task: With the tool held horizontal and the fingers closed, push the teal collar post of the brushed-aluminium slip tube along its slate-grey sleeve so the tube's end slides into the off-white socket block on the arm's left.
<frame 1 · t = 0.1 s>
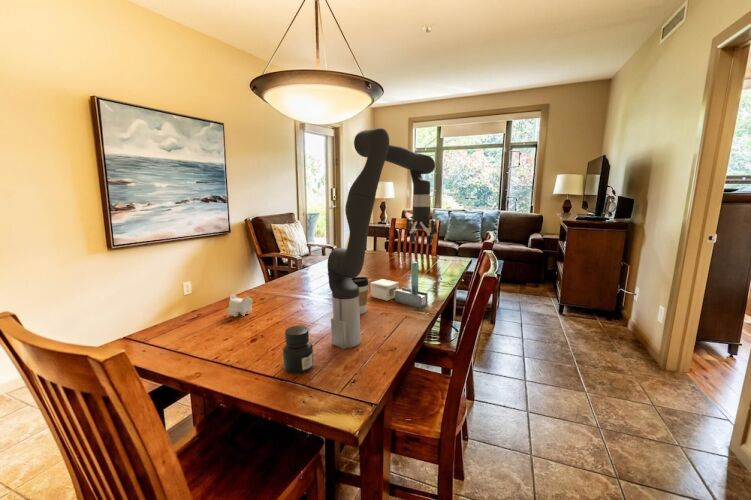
hand: (421, 243, 146), 29 cm above the table, tool pointing down, fingers open, 8 cm apart
elephant figurine: (240, 315, 147), on the table
coffee cup: (359, 311, 148), on the table
socket: (385, 296, 168), on the table
sleeve: (411, 303, 158), on the table
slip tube: (409, 281, 156), point 10 cm above the table, slide at 0.0 cm
ink bottle: (299, 367, 103), on the table
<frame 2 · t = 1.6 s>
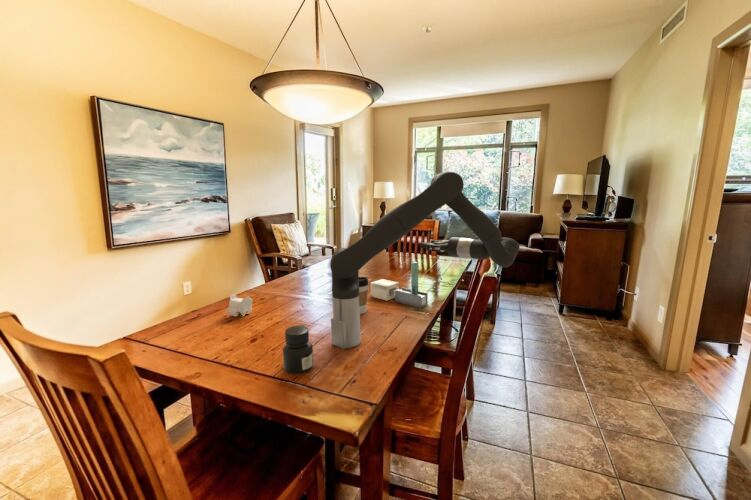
hand: (425, 243, 139), 30 cm above the table, tool horizontal, fingers open, 7 cm apart
nothing on the table moved.
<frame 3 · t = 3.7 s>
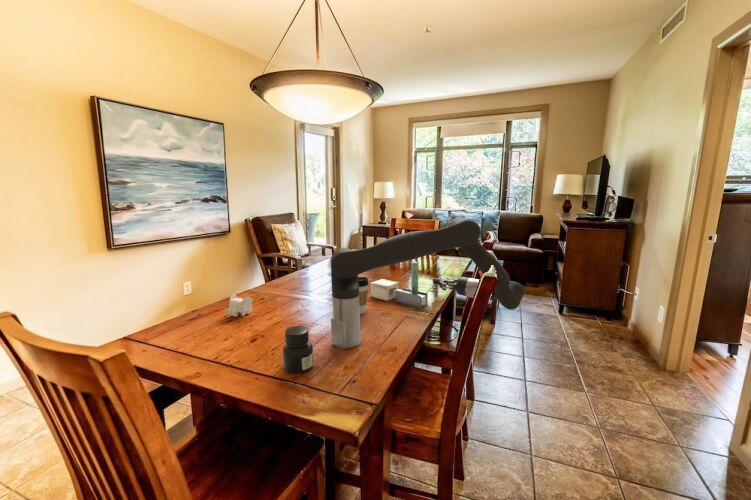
hand: (433, 280, 147), 13 cm above the table, tool horizontal, fingers closed
nothing on the table moved.
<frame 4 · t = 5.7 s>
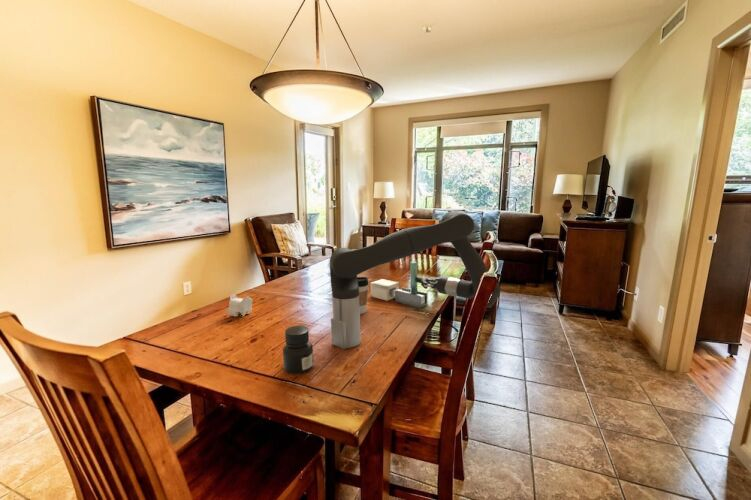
hand: (416, 279, 153), 12 cm above the table, tool horizontal, fingers closed
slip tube: (408, 281, 157), point 10 cm above the table, slide at 0.5 cm, touching gripper
everything else where it was.
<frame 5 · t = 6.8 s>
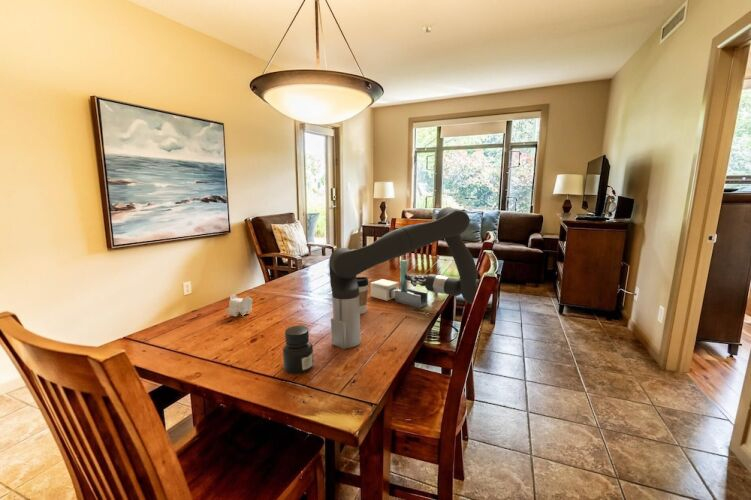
hand: (406, 277, 157), 12 cm above the table, tool horizontal, fingers closed
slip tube: (398, 278, 161), point 10 cm above the table, slide at 6.2 cm, touching gripper
everything else where it was.
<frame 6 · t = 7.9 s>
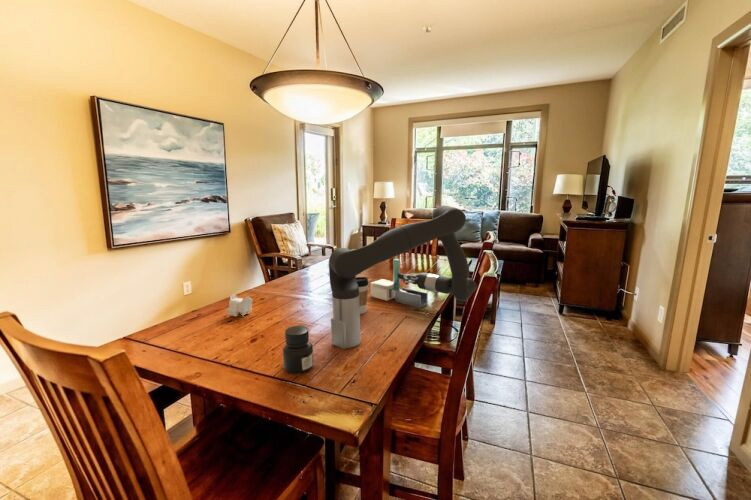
hand: (399, 275, 160), 12 cm above the table, tool horizontal, fingers closed
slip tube: (391, 277, 163), point 10 cm above the table, slide at 10.5 cm, touching gripper
everything else where it was.
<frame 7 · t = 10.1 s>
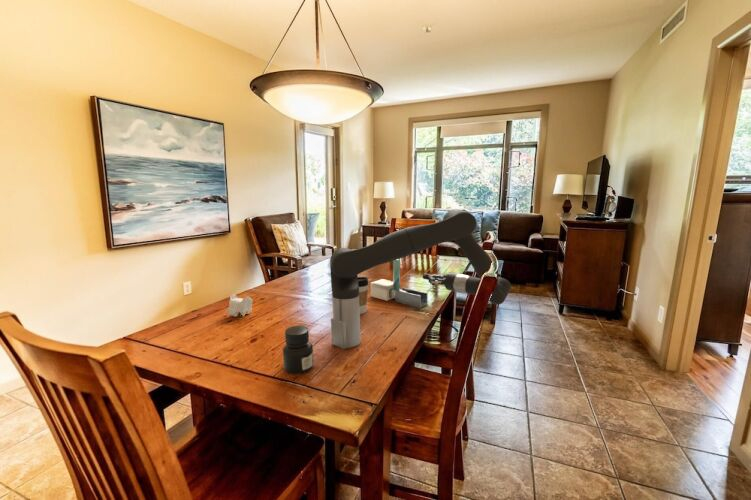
hand: (423, 275, 150), 14 cm above the table, tool horizontal, fingers closed
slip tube: (391, 277, 163), point 10 cm above the table, slide at 10.6 cm
everything else where it was.
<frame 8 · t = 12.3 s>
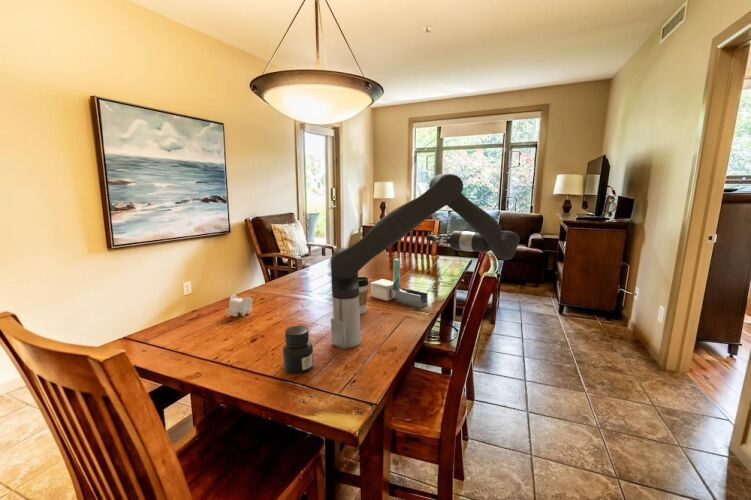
hand: (427, 237, 144), 32 cm above the table, tool horizontal, fingers closed
nothing on the table moved.
at the end: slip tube slide at 10.6 cm; the gripper is holding nothing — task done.
